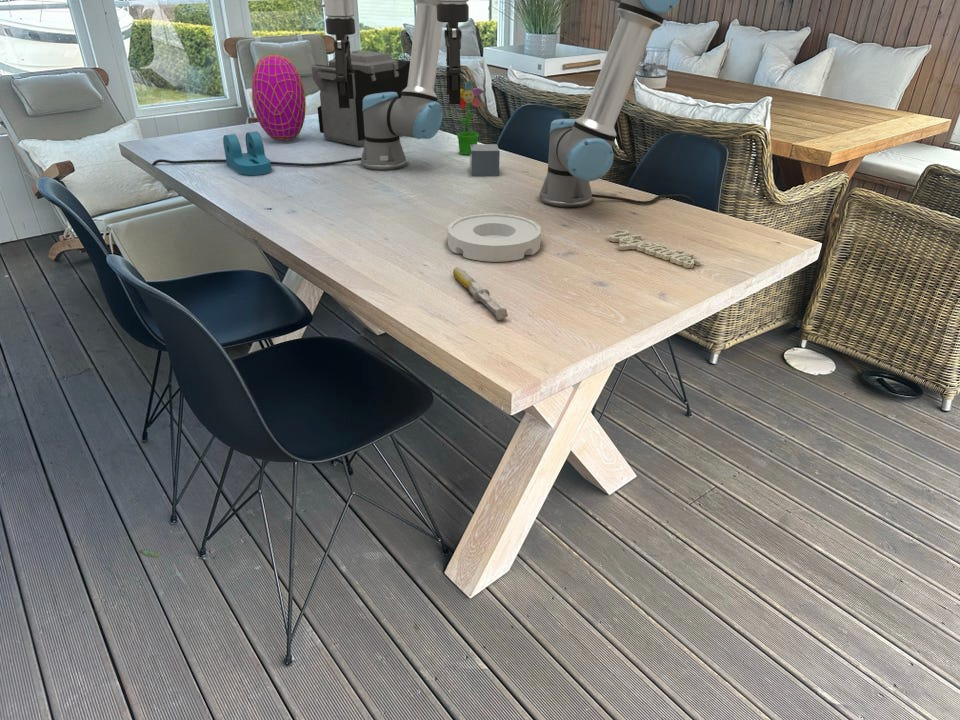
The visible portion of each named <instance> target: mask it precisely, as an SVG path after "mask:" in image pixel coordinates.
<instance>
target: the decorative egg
mask: <svg viewBox="0 0 960 720" xmlns="http://www.w3.org/2000/svg"><path fill="white" fill-rule="evenodd" d="M253 70H254V71H253V73H252V77H251V101H252V107H253V110H254V114H255V116H256V118H257V121H258V123H259V125H260V127H261V128H262V130H263V131H264V133H266V135H267V136H268V137H270V138H271V139H273V140H275V141H282V142H286V141H291V140H293V139H296V138H297V137H298V136H299V134H301V131H302V129H303V127H304V123H305V118H306V104H307V103H306V102H307V101H306V99H307V97H306V93H305V88H304V84H303V81H302V77H301V75H300V73H299V71H298V69H297V67H296V66H295V65H294V63H293V62H292V61H291V60H290V59H288V58H287V57H285V56H282V55H280V54H268V55H265V56H262V57H261V58H260V59H259V60H258V61H257V62H256V65H255V68H254V69H253Z"/></svg>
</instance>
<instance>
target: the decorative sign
mask: <svg viewBox="0 0 960 720" xmlns="http://www.w3.org/2000/svg"><path fill="white" fill-rule="evenodd" d="M641 239H642V235H641V234H630V231H629V230H624V229H616V230H615V233H614V234H610V235H609V241H610V242H613V243H618V244H619V245H618V250H619V251H626V250H636V251H637V252H644V253H645V254H647V255H649V256H655V257H656V258H659V259H663V260H664V261H669V262H670V263H672V264H675V265H678V266H682V267H684V268H687V269H693V268H694V265H696V266H700V263H701V260H700V259H697V258H694V255H695V254H694V253H693V252H686V253H684V249H673V250H672V249H671V250H669V249H668V246H665V244H658V243H656V242H652V243H649V242H646V241H642V240H641Z"/></svg>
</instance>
